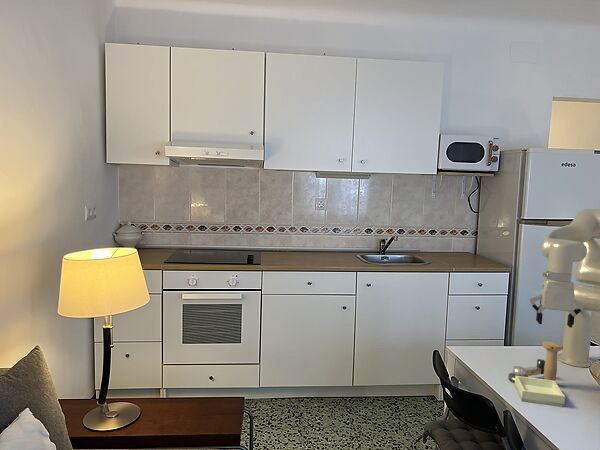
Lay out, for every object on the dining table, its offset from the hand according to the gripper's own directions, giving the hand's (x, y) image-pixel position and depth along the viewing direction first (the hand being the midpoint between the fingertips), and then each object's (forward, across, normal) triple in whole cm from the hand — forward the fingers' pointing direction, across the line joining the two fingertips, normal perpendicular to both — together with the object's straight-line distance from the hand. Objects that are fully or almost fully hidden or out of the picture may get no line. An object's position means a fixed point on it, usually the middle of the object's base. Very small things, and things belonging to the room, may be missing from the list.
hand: (554, 324), depth 167 cm
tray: (+22, -6, -11) cm, 25 cm away
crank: (+20, -6, +3) cm, 21 cm away
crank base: (+22, -4, 0) cm, 22 cm away
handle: (+22, 0, 0) cm, 22 cm away
